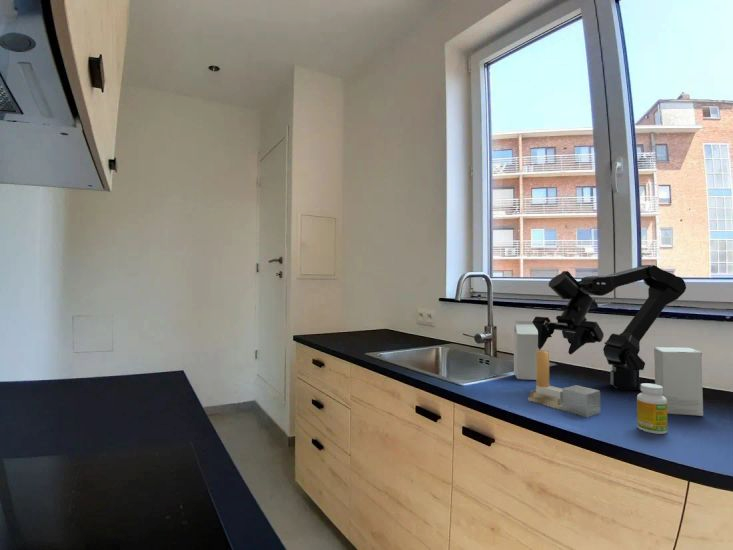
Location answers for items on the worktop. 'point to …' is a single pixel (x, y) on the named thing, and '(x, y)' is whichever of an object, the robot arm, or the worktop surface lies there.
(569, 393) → the socket
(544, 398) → the cradle
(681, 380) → the skincare box
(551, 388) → the orange upright rod
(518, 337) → the milk carton
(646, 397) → the supplement bottle
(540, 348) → the robot arm
